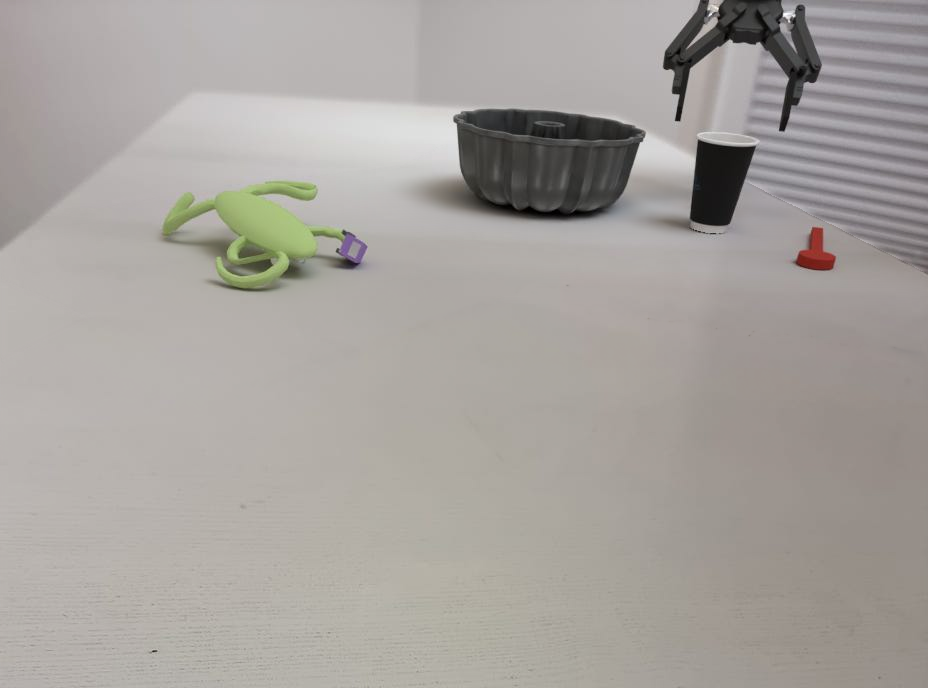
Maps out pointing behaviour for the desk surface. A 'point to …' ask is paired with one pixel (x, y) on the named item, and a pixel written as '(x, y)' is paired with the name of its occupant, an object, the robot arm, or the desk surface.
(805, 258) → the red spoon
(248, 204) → the figurine
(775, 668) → the desk surface
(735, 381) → the desk surface
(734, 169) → the dixie cup
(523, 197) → the bundt pan
